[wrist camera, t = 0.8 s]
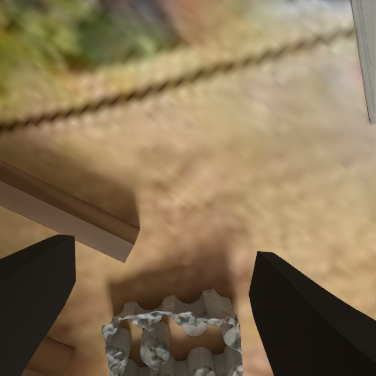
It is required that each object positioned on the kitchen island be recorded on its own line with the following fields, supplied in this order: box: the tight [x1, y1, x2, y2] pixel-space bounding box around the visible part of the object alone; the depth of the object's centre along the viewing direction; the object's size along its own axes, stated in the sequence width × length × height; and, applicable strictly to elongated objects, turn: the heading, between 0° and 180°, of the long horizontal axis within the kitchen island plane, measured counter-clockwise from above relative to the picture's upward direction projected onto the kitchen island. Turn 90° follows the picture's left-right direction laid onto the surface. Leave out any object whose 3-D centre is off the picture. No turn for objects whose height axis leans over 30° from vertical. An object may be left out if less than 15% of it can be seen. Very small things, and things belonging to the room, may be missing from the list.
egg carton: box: [102, 289, 243, 376], centre depth 21 cm, size 11×8×4 cm
